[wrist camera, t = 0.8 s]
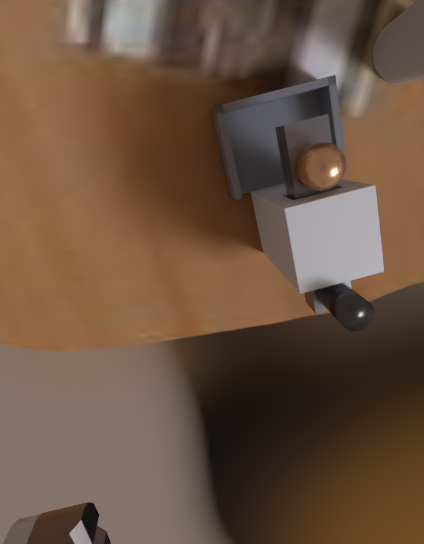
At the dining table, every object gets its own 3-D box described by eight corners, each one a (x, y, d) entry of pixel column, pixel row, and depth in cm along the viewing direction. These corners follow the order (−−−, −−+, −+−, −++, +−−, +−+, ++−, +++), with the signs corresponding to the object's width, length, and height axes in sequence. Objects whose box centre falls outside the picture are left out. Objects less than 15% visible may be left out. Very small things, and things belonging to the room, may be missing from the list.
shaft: (275, 127, 36) (304, 120, 28) (315, 116, 36) (357, 106, 28) (306, 302, 41) (338, 339, 33) (341, 293, 42) (381, 327, 33)
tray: (211, 110, 43) (214, 106, 39) (321, 81, 43) (335, 75, 39) (230, 196, 46) (235, 200, 42) (332, 169, 46) (347, 171, 43)
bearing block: (250, 191, 46) (284, 208, 32) (313, 174, 46) (375, 185, 32) (263, 252, 49) (299, 293, 34) (322, 236, 49) (384, 271, 35)
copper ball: (287, 148, 33) (302, 148, 30) (331, 137, 33) (351, 135, 30) (295, 193, 35) (310, 198, 31) (337, 182, 35) (357, 186, 31)
